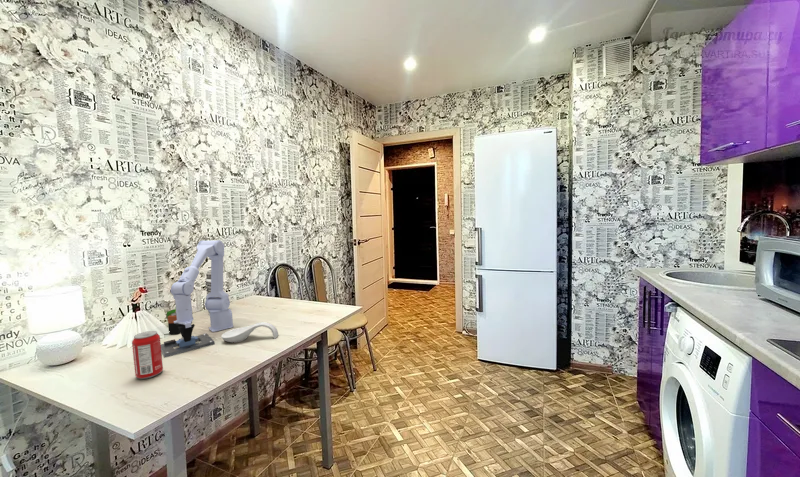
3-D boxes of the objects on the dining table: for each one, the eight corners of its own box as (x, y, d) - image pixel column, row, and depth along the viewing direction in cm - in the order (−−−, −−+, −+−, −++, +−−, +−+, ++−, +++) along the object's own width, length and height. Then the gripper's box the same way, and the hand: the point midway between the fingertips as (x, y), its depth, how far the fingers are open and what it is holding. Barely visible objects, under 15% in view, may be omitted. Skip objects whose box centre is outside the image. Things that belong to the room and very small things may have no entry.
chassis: (206, 335, 155) (206, 331, 155) (214, 344, 144) (214, 339, 144) (159, 347, 143) (159, 342, 143) (164, 357, 132) (163, 352, 132)
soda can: (141, 382, 113) (137, 339, 111) (131, 377, 117) (127, 335, 115) (167, 372, 119) (163, 332, 118) (157, 367, 123) (153, 328, 122)
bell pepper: (180, 327, 168) (178, 308, 167) (164, 328, 168) (162, 308, 167) (190, 322, 176) (189, 303, 176) (175, 322, 176) (173, 304, 176)
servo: (196, 342, 147) (196, 333, 147) (198, 344, 145) (197, 335, 145) (176, 347, 142) (175, 338, 142) (177, 349, 140) (176, 340, 139)
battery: (186, 329, 165) (184, 309, 164) (178, 334, 158) (176, 314, 157) (177, 330, 164) (175, 310, 164) (168, 335, 158) (166, 314, 157)
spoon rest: (217, 346, 142) (215, 330, 142) (228, 336, 154) (227, 321, 153) (274, 342, 145) (272, 326, 144) (280, 332, 156) (279, 317, 156)
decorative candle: (205, 313, 190) (201, 270, 188) (222, 309, 197) (218, 268, 195) (211, 316, 184) (207, 272, 182) (228, 312, 191) (225, 269, 189)
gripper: (170, 308, 145) (172, 338, 146) (175, 314, 134) (178, 347, 135) (188, 304, 150) (191, 333, 151) (195, 311, 139) (198, 342, 140)
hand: (186, 340), depth 143 cm, fingers closed on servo, 3 cm apart
